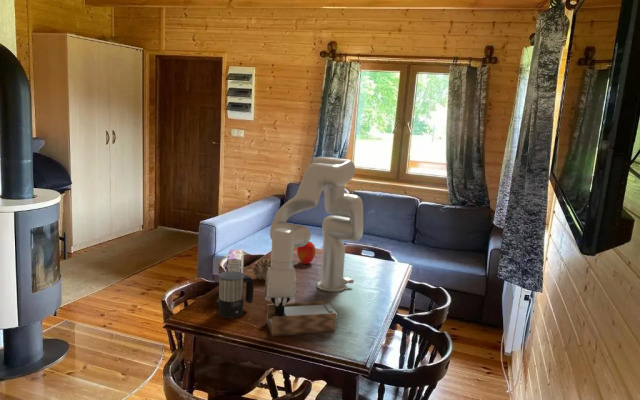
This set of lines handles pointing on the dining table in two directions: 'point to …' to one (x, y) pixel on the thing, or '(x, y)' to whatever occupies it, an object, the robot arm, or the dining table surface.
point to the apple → (306, 253)
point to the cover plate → (309, 310)
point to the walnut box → (300, 321)
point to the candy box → (235, 260)
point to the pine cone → (261, 268)
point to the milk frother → (233, 293)
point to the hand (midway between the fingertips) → (279, 315)
